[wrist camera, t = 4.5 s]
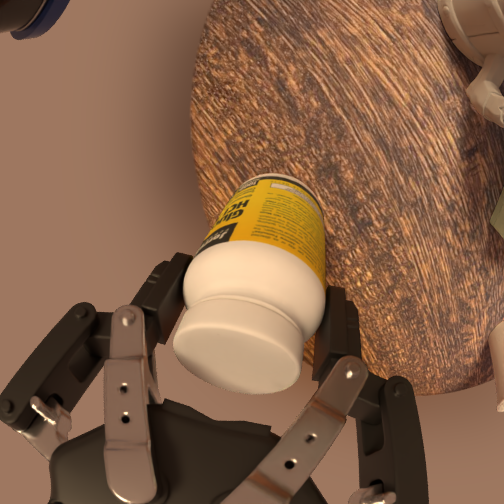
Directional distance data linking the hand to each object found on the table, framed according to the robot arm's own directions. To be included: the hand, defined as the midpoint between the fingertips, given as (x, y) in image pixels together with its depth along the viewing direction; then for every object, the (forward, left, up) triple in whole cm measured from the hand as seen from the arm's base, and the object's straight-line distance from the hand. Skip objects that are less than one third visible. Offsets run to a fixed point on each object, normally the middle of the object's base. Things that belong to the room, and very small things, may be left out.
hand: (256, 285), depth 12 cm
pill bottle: (0, 0, -7) cm, 7 cm away
